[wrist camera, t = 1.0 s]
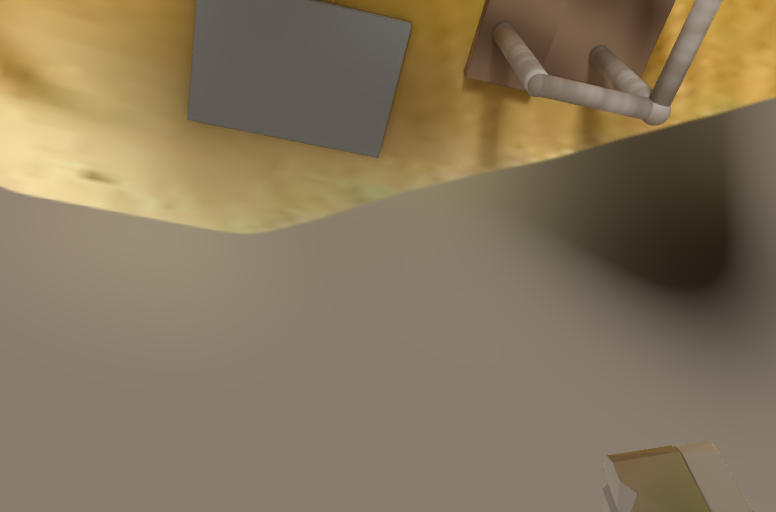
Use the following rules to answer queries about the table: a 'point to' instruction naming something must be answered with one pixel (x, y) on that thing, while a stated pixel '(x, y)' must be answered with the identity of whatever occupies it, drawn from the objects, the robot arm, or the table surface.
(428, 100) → the table surface
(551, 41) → the buzz wire frame
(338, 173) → the table surface
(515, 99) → the table surface
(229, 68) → the mat
